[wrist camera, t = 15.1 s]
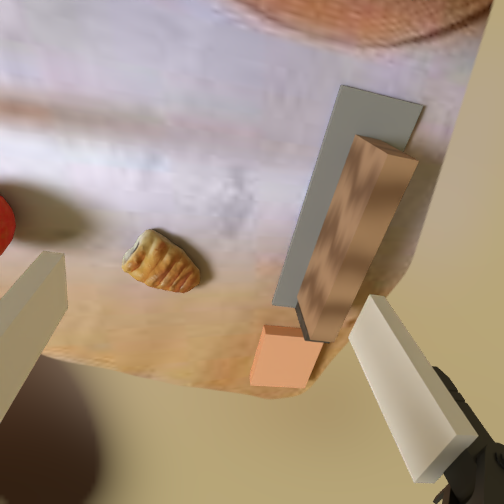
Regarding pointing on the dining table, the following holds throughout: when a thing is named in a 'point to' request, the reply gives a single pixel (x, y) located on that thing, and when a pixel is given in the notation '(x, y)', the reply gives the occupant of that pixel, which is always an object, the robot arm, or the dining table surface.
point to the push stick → (351, 234)
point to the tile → (283, 358)
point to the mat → (340, 171)
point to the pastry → (160, 264)
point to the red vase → (6, 224)
